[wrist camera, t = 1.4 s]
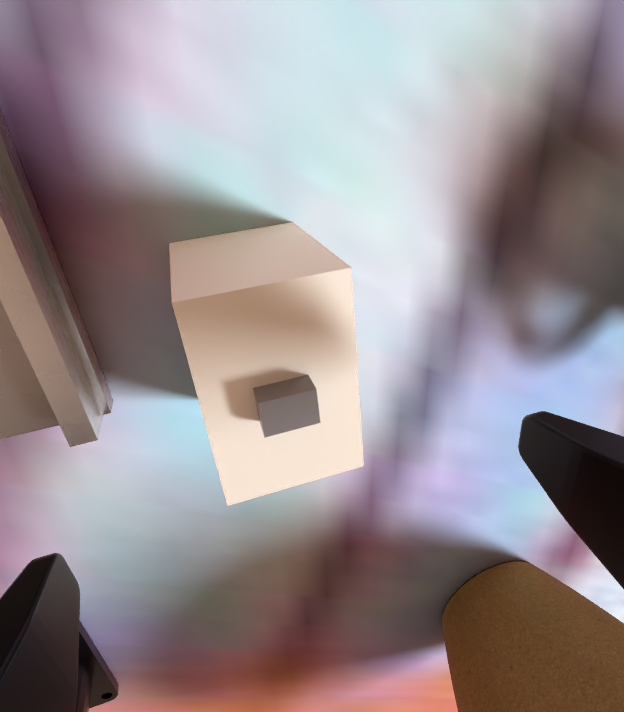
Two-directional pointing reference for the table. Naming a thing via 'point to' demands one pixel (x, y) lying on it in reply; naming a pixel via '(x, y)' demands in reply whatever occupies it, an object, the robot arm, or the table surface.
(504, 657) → the plant pot
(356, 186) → the table surface
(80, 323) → the rail
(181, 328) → the block
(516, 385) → the table surface
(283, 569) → the table surface
